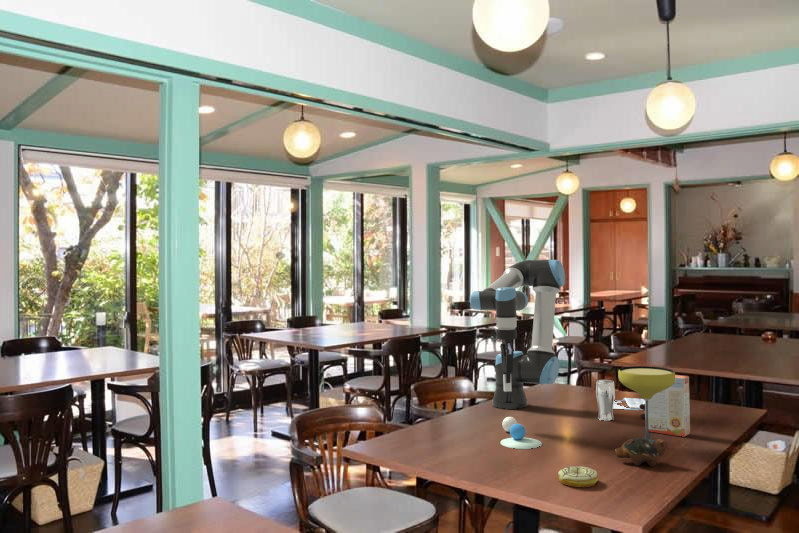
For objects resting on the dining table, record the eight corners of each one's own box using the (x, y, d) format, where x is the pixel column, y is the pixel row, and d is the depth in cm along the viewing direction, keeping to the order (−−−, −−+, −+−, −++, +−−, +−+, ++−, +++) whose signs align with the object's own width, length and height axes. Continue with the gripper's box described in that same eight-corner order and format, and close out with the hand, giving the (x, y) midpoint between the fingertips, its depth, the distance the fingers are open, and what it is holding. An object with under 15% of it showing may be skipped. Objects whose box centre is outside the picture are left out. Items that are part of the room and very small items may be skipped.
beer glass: (613, 417, 258) (612, 379, 258) (617, 421, 251) (616, 382, 251) (595, 417, 259) (594, 379, 259) (598, 421, 252) (597, 382, 252)
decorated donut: (560, 475, 191) (559, 462, 191) (598, 478, 188) (598, 465, 188) (557, 487, 181) (556, 473, 181) (597, 490, 178) (597, 477, 178)
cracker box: (690, 434, 232) (689, 375, 232) (684, 437, 227) (683, 378, 227) (651, 428, 241) (650, 371, 241) (645, 431, 237) (644, 373, 237)
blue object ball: (505, 425, 231) (508, 433, 226) (519, 418, 231) (522, 426, 225) (512, 436, 233) (516, 445, 228) (526, 429, 232) (529, 438, 227)
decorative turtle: (672, 469, 194) (670, 442, 194) (619, 470, 197) (617, 444, 196) (664, 457, 204) (662, 432, 203) (614, 459, 206) (612, 434, 206)
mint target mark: (492, 442, 226) (492, 441, 226) (522, 435, 234) (522, 435, 234) (519, 451, 215) (519, 451, 215) (550, 444, 222) (550, 444, 222)
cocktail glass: (671, 454, 208) (670, 376, 208) (613, 447, 218) (612, 372, 217) (680, 441, 223) (679, 368, 223) (626, 434, 233) (625, 364, 233)
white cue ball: (498, 417, 239) (500, 433, 238) (512, 416, 237) (514, 432, 235) (505, 416, 244) (506, 431, 243) (518, 415, 241) (520, 431, 240)
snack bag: (657, 412, 268) (656, 407, 268) (605, 411, 272) (605, 406, 272) (648, 402, 286) (648, 397, 286) (600, 401, 290) (600, 396, 290)
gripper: (493, 327, 251) (494, 388, 252) (499, 330, 238) (501, 394, 239) (512, 326, 252) (513, 387, 252) (520, 330, 239) (521, 394, 239)
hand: (507, 391), depth 245 cm, fingers closed
